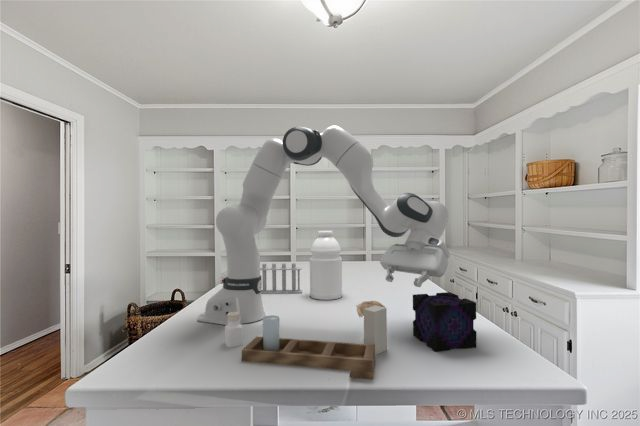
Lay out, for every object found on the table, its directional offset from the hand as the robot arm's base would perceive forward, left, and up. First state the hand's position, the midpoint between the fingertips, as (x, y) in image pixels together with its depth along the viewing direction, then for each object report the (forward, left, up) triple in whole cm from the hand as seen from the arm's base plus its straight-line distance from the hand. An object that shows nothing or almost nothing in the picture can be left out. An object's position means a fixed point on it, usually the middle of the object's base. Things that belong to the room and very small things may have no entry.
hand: (402, 283), depth 97 cm
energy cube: (+11, 0, -16) cm, 19 cm away
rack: (-22, -21, -16) cm, 34 cm away
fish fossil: (-11, +24, -16) cm, 31 cm away
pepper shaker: (-44, -16, -16) cm, 49 cm away
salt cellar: (-32, -21, -14) cm, 40 cm away
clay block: (-7, -10, -16) cm, 20 cm away
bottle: (-31, +44, -16) cm, 56 cm away
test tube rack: (-55, +47, -16) cm, 74 cm away
